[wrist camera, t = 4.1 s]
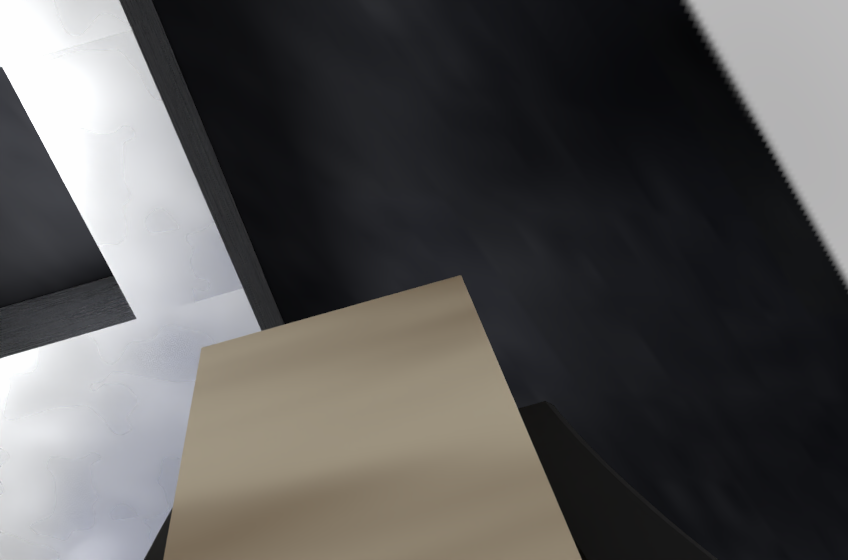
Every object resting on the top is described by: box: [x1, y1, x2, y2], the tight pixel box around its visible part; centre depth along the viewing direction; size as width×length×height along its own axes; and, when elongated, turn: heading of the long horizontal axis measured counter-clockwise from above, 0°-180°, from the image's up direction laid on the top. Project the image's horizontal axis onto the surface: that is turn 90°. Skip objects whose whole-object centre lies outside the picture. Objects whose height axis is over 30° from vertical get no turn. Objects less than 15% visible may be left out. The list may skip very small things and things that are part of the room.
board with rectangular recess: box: [0, 0, 284, 560], centre depth 16 cm, size 18×10×2 cm, turn 14°
